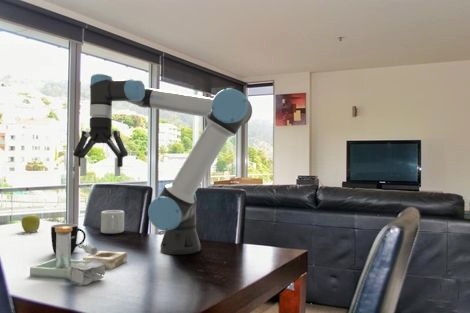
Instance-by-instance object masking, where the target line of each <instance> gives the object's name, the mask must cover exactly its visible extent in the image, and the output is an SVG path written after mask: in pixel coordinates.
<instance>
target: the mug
mask: <svg viewBox="0 0 470 313" xmlns="http://www.w3.org/2000/svg"><path fill="white" fill-rule="evenodd" d="M62 226H71V227H72V231H71V254H73V253H74V252H75V250H76V248H77V247H78V244H80V245H83V244H84V243H85V240H86V237H87V236H86V232H85V231H84V230H83V229H81V228H79V227H78V226H79V225H78V224H76V223H60V224H59V223H58V224H57V223H56V224H53V225H51V227H50V235H51V237H50V238H51V246H52V250H53V253H54V254H55V255H56V232H55V228H56V227H62ZM79 232H81V233H82V234H83V238H82V239H81V241H80V242H79V243H77V239H78V233H79Z"/></svg>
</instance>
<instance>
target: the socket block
mask: <svg viewBox="0 0 470 313" xmlns="http://www.w3.org/2000/svg"><path fill="white" fill-rule="evenodd" d="M91 259H97V260H99V259H100V260H99V261H102V263H104V267H105V270H106V269H107V270H113V269H114V268H116V267H118V266H121V265H122V264H124V263H126V262H127V259H128V256H127V251H126V252H125V251H112V250H109V251H108V250H99V251H98V250H97V253H96V254H95V255H91V254H89V255H86V256H84V257H82V260H85V261H87V260H91ZM91 261H93V260H91Z"/></svg>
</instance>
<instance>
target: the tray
mask: <svg viewBox="0 0 470 313" xmlns="http://www.w3.org/2000/svg"><path fill="white" fill-rule="evenodd" d="M83 261H84V260H83V259H81V260H80V259H70V267H71V263H73V264H74V263H77V264H78V263H82V262H83ZM83 263H84V262H83ZM65 270H67V269H65ZM65 270H64V269H58V268H56V258H53V259H49V260H47V261H45V262H42V263H39V264H37V265H36V264H35V265H33V266H31V267H29V277H38V278H40V277H41V278H49V279H62V280H70V279H69V275H68V274H67V273H65V272H67V271H68V270H69V269H68V270H67V271H65ZM64 271H65V272H64Z"/></svg>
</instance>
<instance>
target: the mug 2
mask: <svg viewBox="0 0 470 313" xmlns="http://www.w3.org/2000/svg"><path fill="white" fill-rule="evenodd" d="M124 231H125V211H124V210H121V209H109V210H108V209H107V210H103V211H101V212H100V232H101V233H102V234H121V233H123V232H124Z"/></svg>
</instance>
